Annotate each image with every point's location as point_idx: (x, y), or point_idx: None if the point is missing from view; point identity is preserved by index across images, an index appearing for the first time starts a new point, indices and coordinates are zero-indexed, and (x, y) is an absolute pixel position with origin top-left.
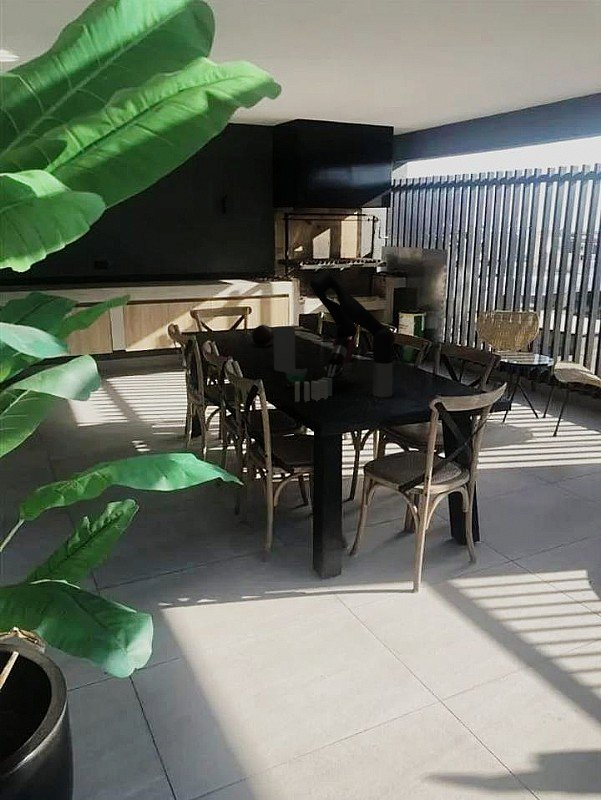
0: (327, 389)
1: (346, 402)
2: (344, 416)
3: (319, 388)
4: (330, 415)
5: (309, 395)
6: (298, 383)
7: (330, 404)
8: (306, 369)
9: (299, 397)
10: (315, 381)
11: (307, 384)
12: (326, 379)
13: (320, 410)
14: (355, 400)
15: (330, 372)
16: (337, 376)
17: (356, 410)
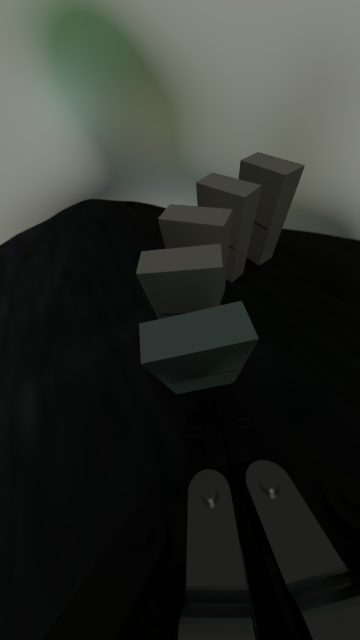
0: (156, 310)
1: (70, 336)
2: (51, 238)
3: (168, 247)
4: (85, 226)
5: None
6: (251, 161)
7: (119, 283)
8: None
9: (249, 248)
10: (205, 219)
11: (204, 180)
12: (184, 317)
13: (122, 234)
14: (36, 388)
15: (297, 599)
16: (145, 620)
17: (24, 285)
